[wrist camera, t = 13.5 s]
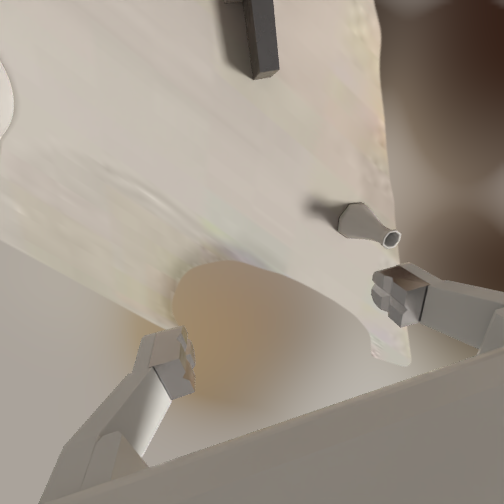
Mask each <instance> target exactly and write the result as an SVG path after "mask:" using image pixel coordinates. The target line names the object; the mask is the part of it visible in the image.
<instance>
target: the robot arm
mask: <svg viewBox="0 0 504 504" xmlns="http://www.w3.org/2000/svg"><path fill="white" fill-rule="evenodd" d="M13 111H14V97H13V91H12V87H11V84H10V81H9V78H8V75H7V73H6V71H5V69H4V67H3V65H2V63H1V61H0V139H1V137H2V136H3V134H4V133H5V131H6V130H7V129H8V127H9V125H10V123H11V120H12V117H13ZM372 280H373V282H374V283H375V284H374V286H373V287H372V290H371V295H372V298H373V301H374V303H375V304H376V305H377V306H378V307H379V308H380V309H381V310H384V311H387V312H388V317H389V318H391V319H392V320H393V321H394V322H395V323H396V324H397V325H398V326H399V327H400V328H401V327H405V326H408V325H412V324H415V323H418V322H420V323H421V324H423V325H425V326H427V327H430V328H432V329H434V330H437V331H439V332H441V333H443V334H446V335H448V336H450V337H452V338H455V339H457V340H459V341H461V342H464V343H466V344H468V345H471V346H473V347H475V348H477V349H479V351H478V354H477V355H476V356H473V357H470V358H468V359H465V360H462V361H459V362H456V363H453V364H450V365H447V366H444V367H441V368H438V369H435V370H433V371H430V372H427V373H424V374H421V375H418V376H415V377H412V378H410V379H407V380H403V381H400V382H397V383H395V384H392V385H389V386H386V387H383V388H380V389H377V390H374V391H372V392H369V393H365V394H362V395H360V396H357V397H354V398H351V399H348V400H345V401H342V402H339V403H337V404H333V405H330V406H328V407H325V408H322V409H319V410H316V411H313V412H310V413H307V414H304V415H301V416H298V417H296V418H292V419H290V420H287V421H284V422H281V423H278V424H275V425H272V426H269V427H266V428H263V429H260V430H257V431H255V432H251V433H249V434H246V435H243V436H240V437H237V438H234V439H231V440H228V441H225V442H222V443H219V444H217V445H213V446H211V447H208V448H205V449H202V450H199V451H196V452H193V453H190V454H187V455H184V456H181V457H178V458H175V459H172V460H170V461H167V462H164V463H161V464H158V465H155V466H152V467H148V465H147V464H146V463H145V462H144V461H143V459H142V456H143V454H144V453H145V451H146V449H147V447H148V445H149V443H150V441H151V440H152V438H153V436H154V434H155V432H156V430H157V428H158V426H159V424H160V423H161V421H162V419H163V417H164V415H165V413H166V411H167V410H168V408H169V406H170V404H171V402H172V401H171V400H173V399H176V398H178V397H182V396H185V395H187V394H191V393H193V392H195V374H194V372H193V368H194V366H195V354H194V349H193V345H192V342H191V341H190V340H189V339H187V330H186V328H185V327H184V326H179V327H175V328H171V329H168V330H164V331H160V332H157V333H153V334H149V335H145V336H144V337H143V338H142V340H141V343H140V347H139V350H138V354H137V357H136V361H135V364H134V368H133V371H132V373H131V374H128V375H127V376H126V377H125V378H124V379H123V380H122V381H121V383H120V384H119V385H118V386H117V387H116V388H115V389H114V391H113V392H112V393H111V394H110V395H109V396H108V397H107V398H106V399H105V401H104V402H103V403H102V404H101V405H100V406H99V407H98V408H97V410H96V411H95V412H94V413H93V414H92V415H91V416H90V418H89V419H88V420H87V421H86V422H85V423H84V424H83V425H82V427H81V428H80V429H79V430H78V431H77V432H76V433H75V434H74V435H73V437H72V438H71V439H70V440H69V441H68V442H67V443H66V444H65V446H64V447H63V449H62V451H61V454H60V456H59V458H58V460H57V463H56V465H55V467H54V469H53V472H52V474H51V476H50V479H49V481H48V483H47V485H46V488H45V490H44V492H43V495H42V497H41V499H40V501H39V503H38V504H504V292H499V291H495V290H490V289H485V288H481V287H476V286H472V285H467V284H462V283H457V282H452V281H448V280H446V281H442V280H440V279H439V278H437V277H435V276H433V275H431V274H430V273H428V272H426V271H424V270H423V269H421V268H419V267H417V266H416V265H414V264H412V263H408V262H406V263H403V264H400V265H396V266H394V267H390V268H387V269H383V270H380V271H376V272H374V274H373V278H372Z"/></svg>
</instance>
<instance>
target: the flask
mask: <svg viewBox="0 0 504 504" xmlns="http://www.w3.org/2000/svg"><path fill="white" fill-rule="evenodd" d="M338 232H339V233H341V234H342V235H344V236H345V237H346V238H353V239H366V240H373V241H376V242H379V243H381V245H382V246H384V247H385V248H386V249H389V248H394V247H395V246H396V245H397V244H398V243H399V241H400V237H401V233H399V232H398V231H397V230H390V229H388V228H386V227H385V226H384V225H383V224H382V223H381V221H380V220H379V219H378V218H377V216H376V215H375V213H374V212H373V211H372V210H371V209H370V208H369V207H367V206H366V205H365V204H364V203H358V204H349V206H348V207H347V208H346V209H345V211H344V212H343V213H342V215H341V216H340V217H339V226H338Z"/></svg>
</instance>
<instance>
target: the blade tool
mask: <svg viewBox="0 0 504 504" xmlns="http://www.w3.org/2000/svg"><path fill="white" fill-rule="evenodd" d="M240 1H243V7H244V14H245V22H246V29H247V36H248V44H249V51H250V58H251V66H252V73H253V80H257V79H263V78H269V77H271V76H273V75H274V74H275V73H276V72H277V71H278V70H279V59H278V48H277V38H276V27H275V16H274V5H273V0H224V2H225V3H232V2H240Z"/></svg>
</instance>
